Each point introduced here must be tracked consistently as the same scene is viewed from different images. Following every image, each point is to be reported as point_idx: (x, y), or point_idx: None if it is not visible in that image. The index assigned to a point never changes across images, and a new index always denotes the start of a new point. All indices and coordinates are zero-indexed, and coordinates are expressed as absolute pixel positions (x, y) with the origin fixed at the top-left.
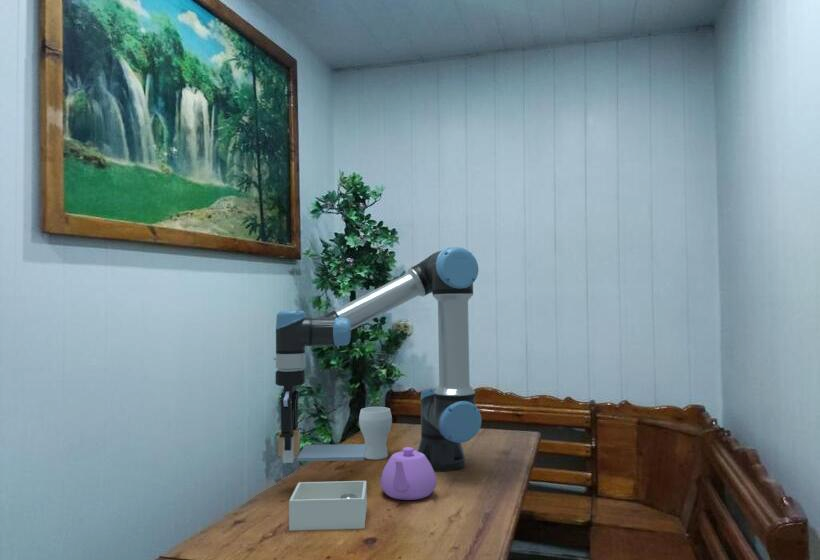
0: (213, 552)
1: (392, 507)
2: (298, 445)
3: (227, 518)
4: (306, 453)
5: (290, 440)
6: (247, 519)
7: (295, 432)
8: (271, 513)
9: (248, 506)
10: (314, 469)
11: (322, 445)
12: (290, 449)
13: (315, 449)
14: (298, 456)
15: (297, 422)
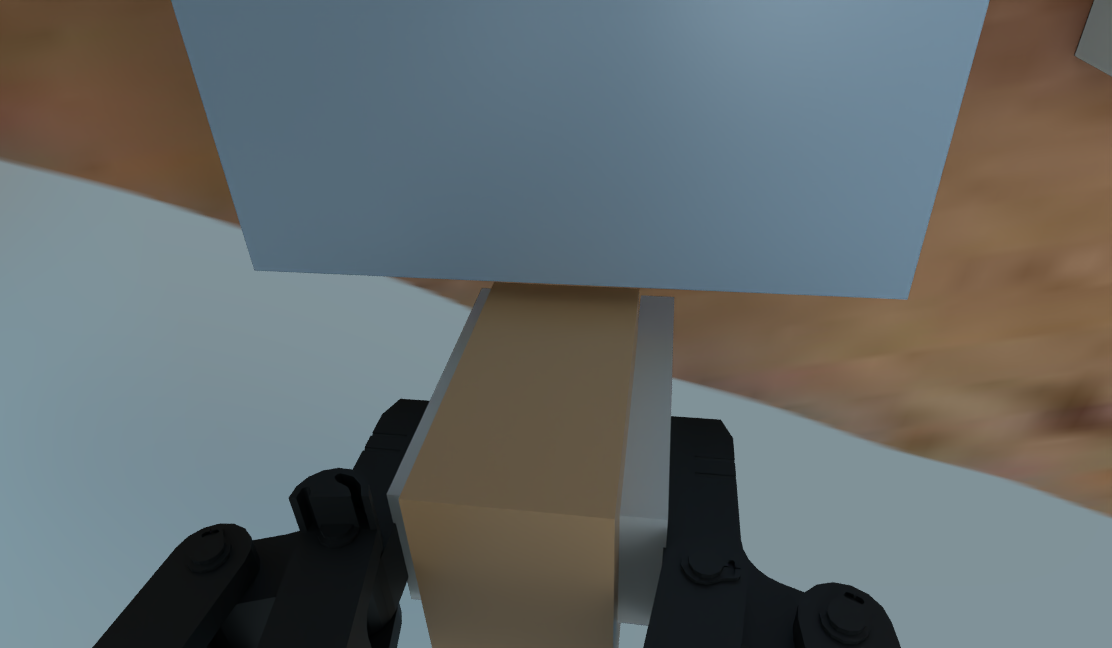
0: None
1: None
2: (598, 359)
3: (989, 469)
4: (688, 200)
5: (706, 516)
6: (1056, 376)
7: (613, 550)
8: (1000, 256)
9: (813, 401)
10: (24, 86)
11: (221, 12)
12: (696, 422)
13: (468, 95)
14: (838, 286)
15: (167, 605)
